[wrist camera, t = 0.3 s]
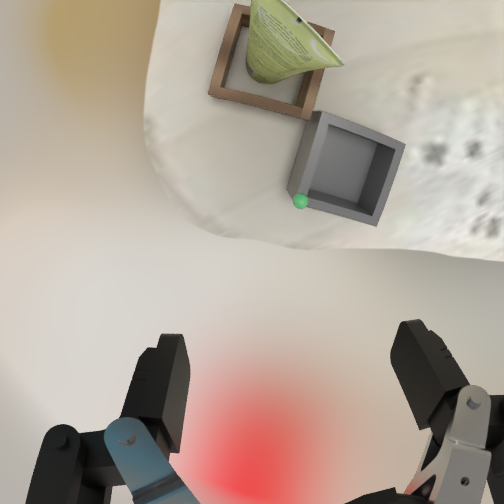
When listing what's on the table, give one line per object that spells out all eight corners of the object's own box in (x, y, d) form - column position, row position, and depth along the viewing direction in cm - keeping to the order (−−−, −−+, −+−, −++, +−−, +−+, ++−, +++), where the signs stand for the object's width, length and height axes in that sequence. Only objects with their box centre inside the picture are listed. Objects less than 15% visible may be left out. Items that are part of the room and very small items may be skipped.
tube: (296, 48, 30) (351, -9, 12) (292, 88, 32) (346, 65, 14) (247, 42, 29) (252, -26, 12) (242, 82, 31) (243, 49, 14)
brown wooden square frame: (235, 17, 28) (234, 3, 23) (323, 40, 29) (334, 31, 25) (212, 96, 32) (207, 94, 27) (300, 119, 33) (309, 120, 29)
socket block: (307, 110, 33) (321, 110, 27) (383, 138, 34) (410, 145, 28) (283, 191, 37) (292, 208, 31) (358, 212, 39) (378, 232, 32)
